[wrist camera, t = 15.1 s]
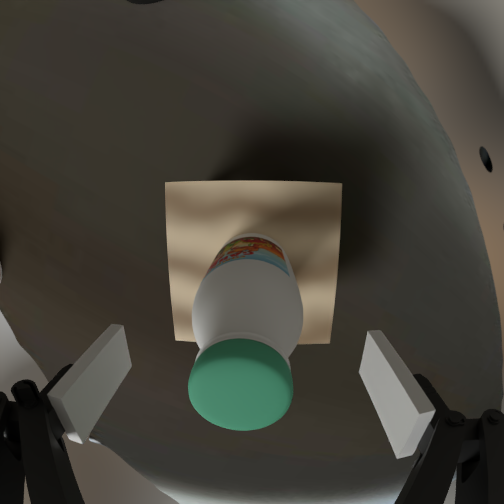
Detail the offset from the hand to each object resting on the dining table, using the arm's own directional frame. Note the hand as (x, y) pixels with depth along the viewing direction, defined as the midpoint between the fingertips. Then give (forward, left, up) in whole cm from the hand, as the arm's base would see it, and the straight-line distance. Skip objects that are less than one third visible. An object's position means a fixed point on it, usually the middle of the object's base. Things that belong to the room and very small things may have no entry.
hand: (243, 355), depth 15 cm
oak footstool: (0, 0, -29) cm, 29 cm away
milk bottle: (0, 0, -17) cm, 17 cm away
